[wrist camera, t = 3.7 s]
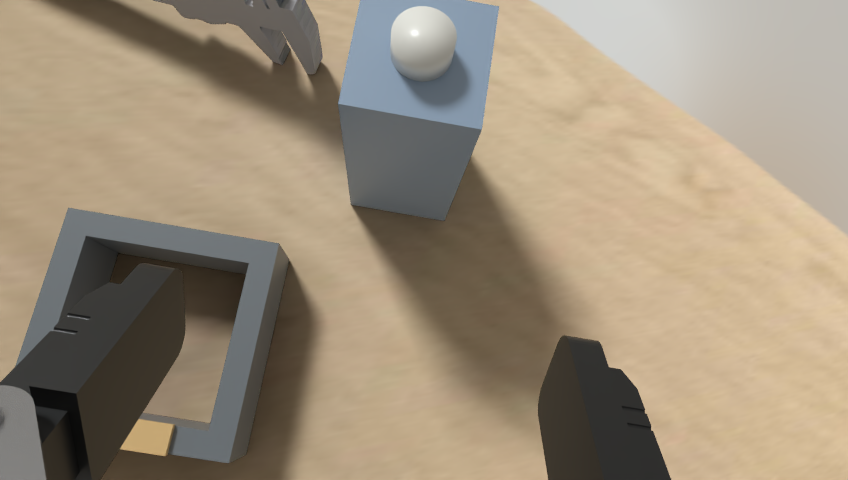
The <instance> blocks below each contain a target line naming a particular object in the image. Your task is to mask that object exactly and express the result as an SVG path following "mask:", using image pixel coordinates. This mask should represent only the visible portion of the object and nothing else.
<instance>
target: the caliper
mask: <svg viewBox="0 0 848 480" xmlns="http://www.w3.org/2000/svg"><path fill="white" fill-rule="evenodd" d="M154 1H158V2H162V3H166V4H170V5H173V6H174V7H175V8H176V10H177V11H178V12H179V13H180V15H182V16H183V17H185V18H188V19H199V20H202V21H204V22H207V23H209V24H226V23H230V24H234V25H237V26H239V27H240V28H241V29H242V30H243V31H244V32H245V33H246V34H247V35H248V36H249V37H250V38H251V39H252V40H253V41H254V42H255V43H256V45H257V46H258V47H259V48H260V49H261V50H262V51H263V52H264V53H265V54H266V55H267V56H268V57H269V58H270V59H271V60H272V61H273V62H275V63H278V64H281V65H283V64H284V62H285V60H286V58H287V55H288V53H289V51H290V48H289V46H288V45H287V43H286V42H287V41H286V39H287V40H288V42H289V44H290V45H291V47H292V49H293V50H294V52H295V54H296V55H297V57H298V59H299V60H300V62H301V64H302V66H303V67H304V69H305V71H306V73H307V74H315V73H316V70H317V68H318V66H319V64H320V62H321V59H322V48H321V42H320V36H319V30H318V24H317V22H316V20H315V18H314V16H313V14H312V12H311V11H310V9H309V7H308V5H307V3H306V1H305V0H154ZM281 31H282V32H283V33H282V32H281ZM283 34H284V35H285V37H286V39H285V37H284V35H283Z"/></svg>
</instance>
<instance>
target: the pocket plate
mask: <svg viewBox="0 0 848 480" xmlns="http://www.w3.org/2000/svg"><path fill="white" fill-rule="evenodd" d="M118 253H121V254H127V255H133V256H139V257H145V258H151V259H157V260H163V261H169V262H175V263H181V264H187V265H193V266H199V267H205V268H211V269H217V270H223V271H229V272H235V273H241V274H246V277H245V281H244V286H243V290H242V294H241V298H240V302H239V306H238V310H237V315H236V319H235V323H234V327H233V331H232V335H231V340H230V344H229V348H228V352H227V356H226V360H225V365H224V369H223V373H222V377H221V381H220V385H219V389H218V394H217V398H216V402H215V406H214V410H213V414H212V419H211V423H205V422H198V421H192V420H185V419H179V418H172V417H166V416H160V415H153V414H147V413H142V414H141V416H140V417H139V419H138V421H137V422H136V424H135V425H134V427H133V429H132V430H131V432H130V433H129V435H128V437H127V438H126V440H125V441H124V443H123V445H122V446H121V448H120V449H122V450H128V451H135V452H141V453H148V454H154V455H161V456H167V455H168V454H171V455H178V456H184V457H191V458H197V459H204V460H210V461H217V462H223V463H231V462H232V461H234V460H236V459H238V458H240V457H242V456H244V455H246V453H247V448H248V444H249V439H250V435H251V430H252V426H253V421H254V417H255V412H256V408H257V403H258V399H259V394H260V390H261V385H262V381H263V376H264V372H265V367H266V363H267V358H268V354H269V349H270V345H271V340H272V336H273V331H274V327H275V322H276V318H277V313H278V309H279V304H280V300H281V295H282V291H283V286H284V282H285V277H286V273H287V268H288V264H289V258H288V257H287V255H286V254H285V252H284V250H283V249H282V247H281V246H280V244H279V243H273V242H267V241H261V240H255V239H249V238H244V237H238V236H232V235H226V234H220V233H214V232H208V231H202V230H196V229H190V228H185V227H179V226H173V225H167V224H161V223H155V222H149V221H143V220H137V219H132V218H126V217H120V216H114V215H108V214H102V213H96V212H90V211H84V210H78V209H73V208H68V210H67V213H66V216H65V219H64V222H63V225H62V228H61V231H60V234H59V237H58V240H57V243H56V246H55V249H54V252H53V255H52V258H51V261H50V264H49V267H48V270H47V273H46V276H45V279H44V282H43V285H42V288H41V291H40V294H39V297H38V300H37V303H36V306H35V309H34V312H33V315H32V318H31V321H30V324H29V327H28V330H27V333H26V336H25V339H24V342H23V345H22V348H21V351H20V354H19V357H18V360H17V363H16V366H17V365H18V364H19V363H20V362H21V361H22V360H23V359H24V358H25V356H26V355H27V354H28V353H29V352H30V351H31V350H32V349H33V348H34V347H35V346H36V345H37V344H38V343H39V342H40V341H41V340H42V339H43V338H44V337H45V336H46V335H47V334H48V333H49V332H50V331H53V330H54V326H55V325H56V324H57V323H58V322H59V321H60V320H61V319H62V318H63V317H64V316H66V317H67V315H68V312H69V311H70V310H71V309H72V308H73V307H74V306H75V305H76V304H77V303H78V302H79V301H80V300H81V299H82V298H83V297H84V296H85V295H86V294H88V293H90V292H92V291H94V290H96V289H98V288H100V287H101V286H103V285H105V284H107V283H109V281H110V278H111V275H112V271H113V268H114V265H115V261H116V258H117V255H118ZM16 366H15V367H16Z"/></svg>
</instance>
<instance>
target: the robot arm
mask: <svg viewBox="0 0 848 480" xmlns="http://www.w3.org/2000/svg"><path fill="white" fill-rule="evenodd" d="M184 336H185V308H184V286H183V275H182V272H181V270H180V269H176V268H171V267H165V266H159V265H153V264H147V263H140V264H139V265H138V266H136V267H135V269H134V270H133V271H132V272H131V273H130V274H129V275H128V276H127V277H126V279H125V280H124V281H123V282H122V283H121V284H116V283H110V282H109V283H107V284H105V285H103V286H101V287H100V288H98V289H96V290H94V291H92V292H90V293H88V294H86V295H85V296H84V297H83V298H82V299H81V300H80V301H79V302H78V303H77V304H76V305H75V306H74V307H73V308H72V309H71V310H70V311H69V312H68V315H67V317H66V316H64V317H63V318H62V319H61V320H60V321H59V322H58V323H57V324H56V325H55V326H54V330H53V331H50V332H49V333H48V334H47V335H46V336H45V337H44V338H43V339H42V340H41V341H40V342H39V343H38V344H37V345H36V346H35V347H34V348H33V349H32V350H31V351H30V352H29V353H28V354H27V355H26V356H25V358H24V359H23V360H22V361H21V362H20V363H19V364H18V365H17V366H16V367H15V368H14V369H13V370H12V371H11V372H10V373H9V374H8V375H7V376H6V377H5V378H4V379H3V380H2V381H1V382H0V480H101V478H102V476H103V475H104V473H105V472H106V470H107V468H108V467H109V465H110V464H111V462H112V461H113V459H114V457H115V456H116V454H117V453H118V451H119V449H120V448H121V446H122V445H123V443H124V441H125V440H126V438H127V437H128V435H129V433H130V432H131V430H132V429H133V427H134V425H135V424H136V422H137V421H138V419H139V417H140V416H141V414H142V413H143V411H144V409H145V408H146V406H147V405H148V403H149V401H150V400H151V398H152V397H153V395H154V394H155V392H156V390H157V389H158V387H159V386H160V384H161V382H162V381H163V379H164V378H165V376H166V374H167V373H168V371H169V370H170V368H171V366H172V365H173V363H174V362H175V360H176V358H177V357H178V355H179V353H180V350H181V348H182V344H183V341H184ZM538 417H539V424H540V430H541V436H542V442H543V449H544V455H545V461H546V468H547V474H548V480H671V478H670V475H669V473H668V470H667V467H666V465H665V462H664V459H663V457H662V454H661V451H660V449H659V446H658V443H657V441H656V438H655V435H654V432H653V431H651V424H650V422H649V419H648V416H647V414H645V408H644V406H643V403H642V400H641V398H640V395H639V392H638V390H637V388H636V387H635V386H634V385H633V383H632V382H631V381H630V380H629V379H628V377H627V376H626V375H625V374H624V373H623V371H622V370H621V369H615V368H609V367H608V364H607V361H606V358H605V354H604V351H603V348H602V346H601V344H600V342H598V341H594V340H588V339H582V338H577V337H571V336H565V335H564V336H562V337H561V338H560V340H559V342H558V344H557V347H556V350H555V352H554V355H553V358H552V360H551V363H550V366H549V368H548V371H547V374H546V376H545V379H544V382H543V385H542V387H541V391H540V396H539V403H538Z"/></svg>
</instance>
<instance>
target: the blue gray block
mask: <svg viewBox="0 0 848 480" xmlns="http://www.w3.org/2000/svg"><path fill="white" fill-rule="evenodd" d="M498 10H499V7H498V6H493V5H488V4H482V3H477V2H472V1H466V0H360V4H359V9H358V13H357V18H356V23H355V27H354V32H353V37H352V41H351V46H350V51H349V55H348V60H347V64H346V69H345V74H344V78H343V83H342V88H341V92H340V97H339V102H338V107H339V115H340V123H341V131H342V138H343V146H344V154H345V162H346V170H347V178H348V185H349V193H350V201H351V205H355V206H361V207H367V208H372V209H378V210H384V211H390V212H396V213H401V214H407V215H413V216H419V217H424V218H430V219H436V220H442V221H445V218H446V216H447V213H448V211H449V208H450V206H451V203H452V201H453V199H454V196H455V194H456V191H457V189H458V186H459V184H460V181H461V179H462V177H463V174H464V172H465V169H466V167H467V164H468V162H469V160H470V157H471V155H472V152H473V150H474V147H475V145H476V142H477V140H478V138H479V135H480V133H481V130H482V124H483V117H484V110H485V103H486V96H487V89H488V82H489V74H490V67H491V60H492V53H493V46H494V39H495V32H496V24H497V17H498Z"/></svg>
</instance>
